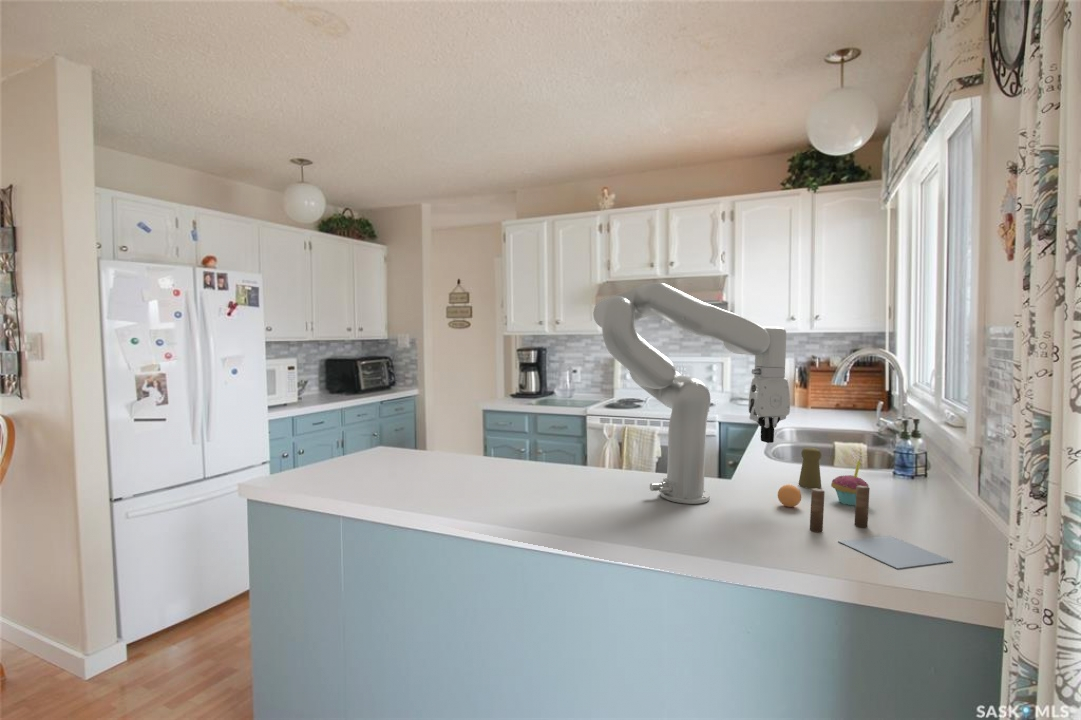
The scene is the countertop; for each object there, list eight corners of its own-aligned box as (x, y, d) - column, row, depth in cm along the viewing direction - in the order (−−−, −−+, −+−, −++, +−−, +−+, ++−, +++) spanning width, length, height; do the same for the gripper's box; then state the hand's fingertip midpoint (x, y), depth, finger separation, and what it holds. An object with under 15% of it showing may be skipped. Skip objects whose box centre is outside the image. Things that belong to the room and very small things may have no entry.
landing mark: (897, 569, 107) (897, 568, 107) (838, 542, 120) (838, 541, 120) (952, 561, 111) (952, 560, 111) (890, 536, 125) (890, 535, 125)
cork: (816, 483, 167) (818, 446, 167) (824, 489, 161) (826, 450, 161) (795, 482, 168) (797, 445, 167) (802, 488, 162) (804, 449, 161)
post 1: (815, 532, 126) (817, 492, 125) (807, 528, 128) (808, 489, 128) (825, 531, 126) (827, 491, 126) (816, 527, 129) (818, 488, 128)
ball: (787, 510, 141) (788, 488, 141) (772, 503, 146) (773, 482, 146) (805, 509, 143) (806, 487, 142) (790, 502, 148) (791, 481, 148)
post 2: (861, 528, 129) (863, 489, 129) (851, 524, 132) (853, 485, 131) (870, 527, 130) (872, 488, 130) (860, 523, 133) (862, 485, 132)
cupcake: (864, 500, 151) (866, 455, 151) (871, 509, 143) (873, 462, 143) (828, 496, 154) (830, 452, 153) (833, 505, 146) (835, 459, 145)
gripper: (754, 374, 146) (752, 446, 147) (803, 374, 150) (800, 443, 151) (736, 372, 153) (734, 440, 154) (783, 372, 157) (780, 438, 158)
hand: (767, 441), depth 153 cm, fingers closed
